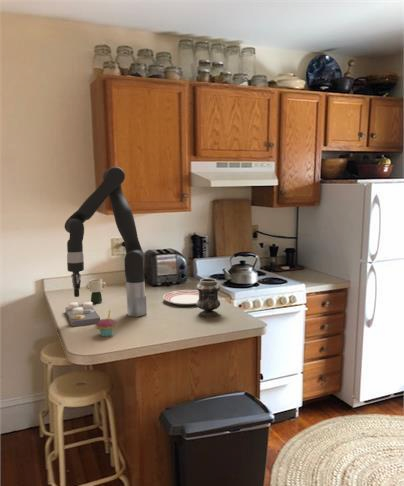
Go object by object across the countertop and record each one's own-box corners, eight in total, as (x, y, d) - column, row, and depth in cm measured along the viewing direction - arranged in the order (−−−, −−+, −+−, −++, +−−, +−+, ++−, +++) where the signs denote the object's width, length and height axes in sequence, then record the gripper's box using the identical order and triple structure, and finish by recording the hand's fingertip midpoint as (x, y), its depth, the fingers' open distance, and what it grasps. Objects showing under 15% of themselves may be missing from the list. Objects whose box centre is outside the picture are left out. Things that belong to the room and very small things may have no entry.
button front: (84, 314, 203) (83, 309, 202) (73, 315, 201) (73, 310, 200) (82, 311, 207) (82, 306, 207) (72, 312, 205) (71, 307, 205)
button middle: (93, 308, 212) (93, 303, 212) (83, 309, 210) (83, 304, 210) (91, 306, 217) (91, 301, 216) (82, 307, 215) (81, 302, 214)
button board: (100, 322, 204) (100, 317, 203) (72, 326, 198) (72, 320, 198) (90, 309, 227) (90, 303, 227) (65, 312, 222) (65, 307, 222)
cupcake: (117, 331, 192) (116, 305, 190) (114, 337, 183) (113, 311, 182) (98, 331, 191) (97, 305, 190) (94, 338, 183) (93, 311, 181)
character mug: (105, 299, 246) (104, 277, 244) (107, 302, 239) (106, 280, 237) (86, 301, 242) (84, 279, 240) (87, 305, 235) (86, 282, 233)
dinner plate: (219, 304, 234) (219, 298, 233) (171, 310, 224) (171, 304, 223) (201, 293, 259) (200, 288, 259) (157, 298, 249) (157, 292, 249)
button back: (79, 308, 217) (78, 304, 217) (69, 309, 215) (69, 305, 215) (77, 306, 222) (77, 301, 221) (68, 307, 220) (67, 302, 219)
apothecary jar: (222, 311, 219) (222, 277, 217) (217, 318, 208) (216, 283, 206) (200, 310, 223) (199, 276, 220) (193, 317, 211) (193, 281, 209)
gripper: (85, 262, 196) (86, 299, 199) (81, 258, 208) (82, 292, 211) (68, 263, 193) (70, 300, 196) (65, 259, 205) (67, 294, 208)
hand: (76, 296), depth 203 cm, fingers closed
